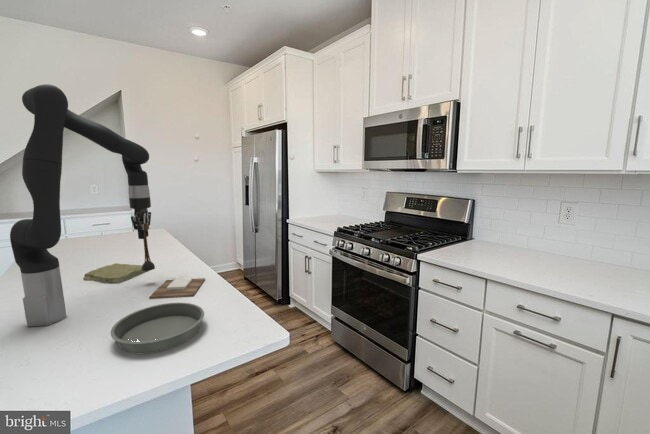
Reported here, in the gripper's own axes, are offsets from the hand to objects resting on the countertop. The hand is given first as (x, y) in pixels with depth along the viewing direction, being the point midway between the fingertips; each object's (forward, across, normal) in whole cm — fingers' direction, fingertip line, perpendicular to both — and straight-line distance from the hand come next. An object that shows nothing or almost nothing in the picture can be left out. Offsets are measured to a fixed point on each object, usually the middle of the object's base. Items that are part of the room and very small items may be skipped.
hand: (143, 237), depth 132 cm
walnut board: (+20, -8, -15) cm, 26 cm away
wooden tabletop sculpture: (+14, 0, 0) cm, 14 cm away
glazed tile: (+19, -7, -15) cm, 25 cm away
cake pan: (+21, -44, -21) cm, 53 cm away
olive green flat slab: (+21, +13, +19) cm, 31 cm away
